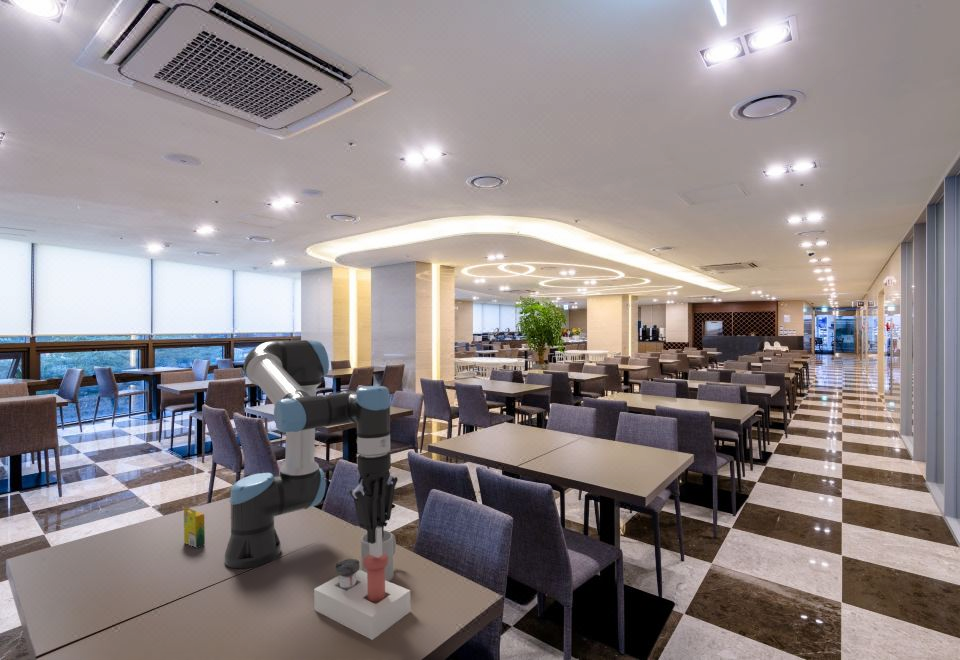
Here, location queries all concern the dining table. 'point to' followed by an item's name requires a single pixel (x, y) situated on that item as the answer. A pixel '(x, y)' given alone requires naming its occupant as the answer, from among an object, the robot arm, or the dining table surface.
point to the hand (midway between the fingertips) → (375, 554)
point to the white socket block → (362, 605)
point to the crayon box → (194, 528)
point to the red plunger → (376, 577)
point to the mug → (387, 549)
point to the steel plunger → (347, 573)
